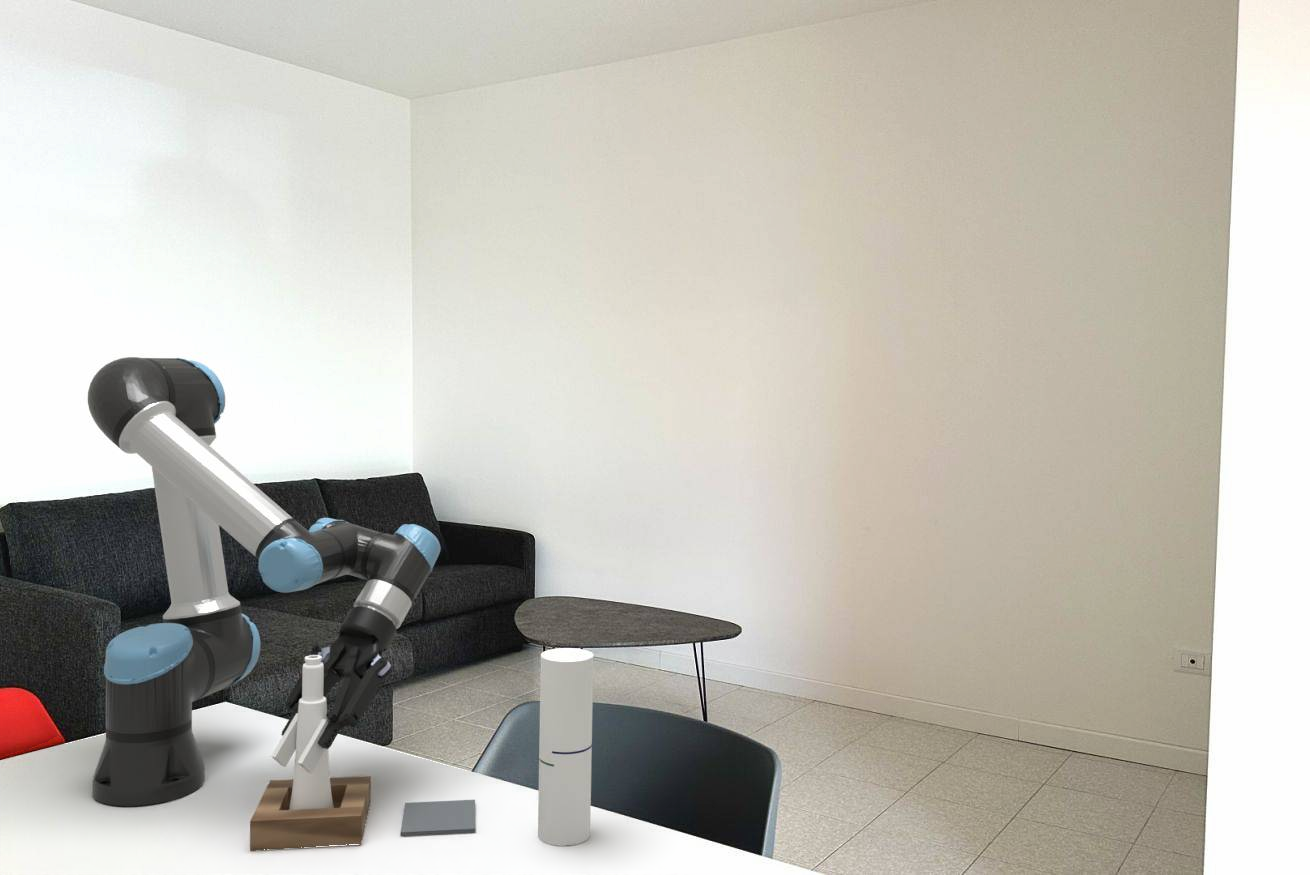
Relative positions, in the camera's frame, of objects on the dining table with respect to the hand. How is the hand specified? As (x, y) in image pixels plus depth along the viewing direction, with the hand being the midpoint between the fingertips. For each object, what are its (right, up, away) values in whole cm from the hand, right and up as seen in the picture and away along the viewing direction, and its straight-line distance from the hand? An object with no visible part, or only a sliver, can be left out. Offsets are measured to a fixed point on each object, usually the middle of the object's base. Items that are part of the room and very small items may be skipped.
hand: (291, 764), depth 142 cm
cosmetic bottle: (+1, -8, +4) cm, 9 cm away
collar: (+2, -10, +4) cm, 11 cm away
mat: (+18, -10, +7) cm, 22 cm away
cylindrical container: (+36, -11, +3) cm, 38 cm away
